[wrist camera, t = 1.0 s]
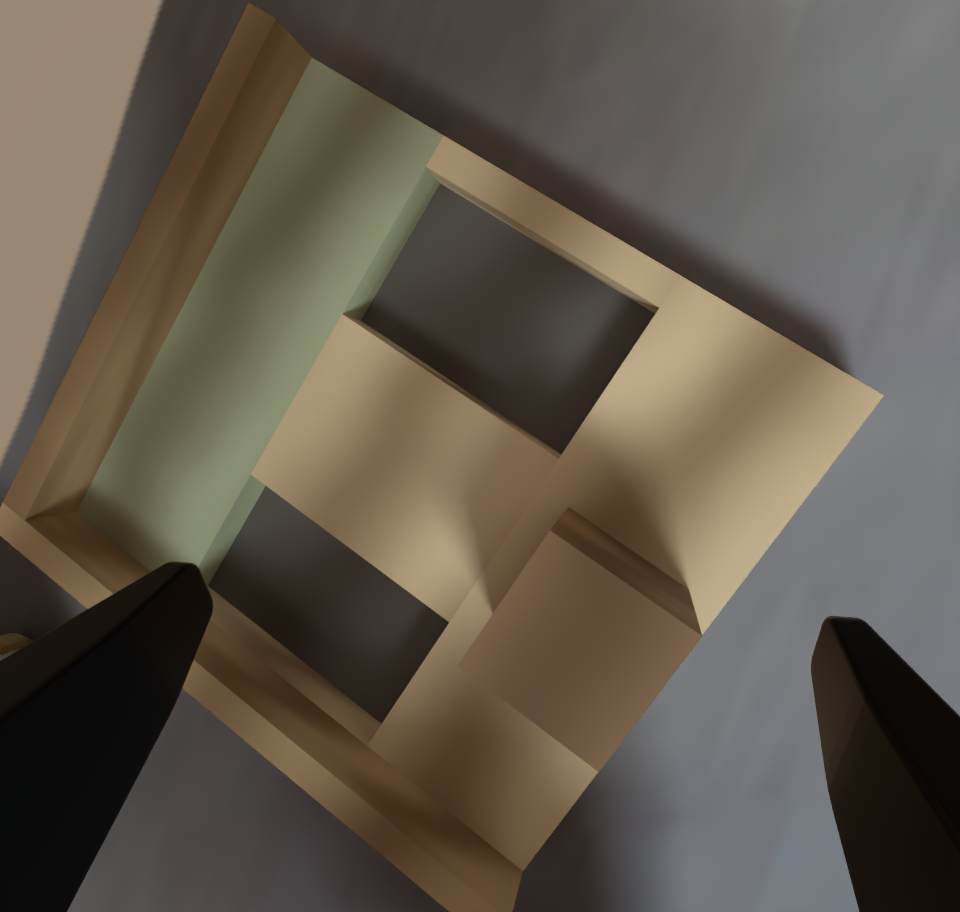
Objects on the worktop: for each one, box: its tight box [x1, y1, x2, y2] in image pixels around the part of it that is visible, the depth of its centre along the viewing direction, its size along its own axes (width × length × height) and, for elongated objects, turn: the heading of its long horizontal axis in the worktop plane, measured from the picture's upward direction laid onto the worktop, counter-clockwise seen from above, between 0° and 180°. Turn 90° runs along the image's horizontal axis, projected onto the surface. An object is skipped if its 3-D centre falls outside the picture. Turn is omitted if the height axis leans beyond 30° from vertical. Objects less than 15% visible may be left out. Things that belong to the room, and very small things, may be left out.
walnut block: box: [458, 507, 702, 772], centre depth 17 cm, size 4×4×4 cm
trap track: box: [0, 3, 884, 912], centre depth 20 cm, size 20×18×4 cm
